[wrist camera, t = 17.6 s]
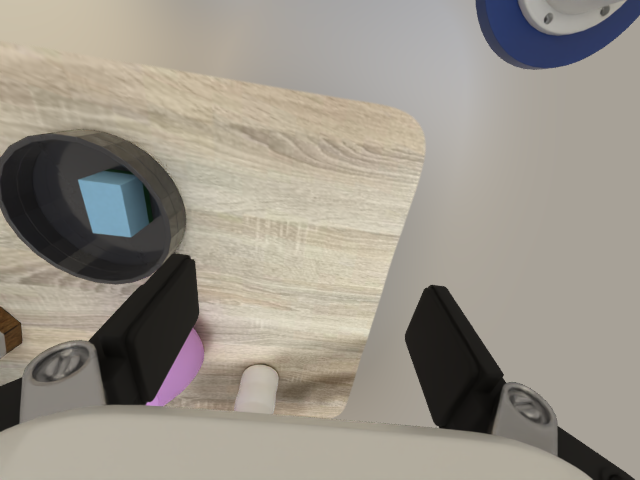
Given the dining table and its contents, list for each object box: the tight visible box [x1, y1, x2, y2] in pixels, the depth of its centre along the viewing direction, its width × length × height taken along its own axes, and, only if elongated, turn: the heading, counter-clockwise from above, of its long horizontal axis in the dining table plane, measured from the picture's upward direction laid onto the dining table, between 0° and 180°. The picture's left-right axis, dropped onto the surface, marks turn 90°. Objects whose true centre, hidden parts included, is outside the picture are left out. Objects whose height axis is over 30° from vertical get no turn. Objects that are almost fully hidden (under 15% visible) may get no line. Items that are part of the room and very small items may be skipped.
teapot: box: [146, 328, 204, 406], centre depth 41 cm, size 22×16×14 cm
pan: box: [0, 129, 186, 284], centre depth 34 cm, size 19×19×4 cm
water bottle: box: [234, 365, 279, 414], centre depth 42 cm, size 7×7×25 cm
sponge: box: [78, 169, 153, 237], centre depth 33 cm, size 6×4×5 cm
